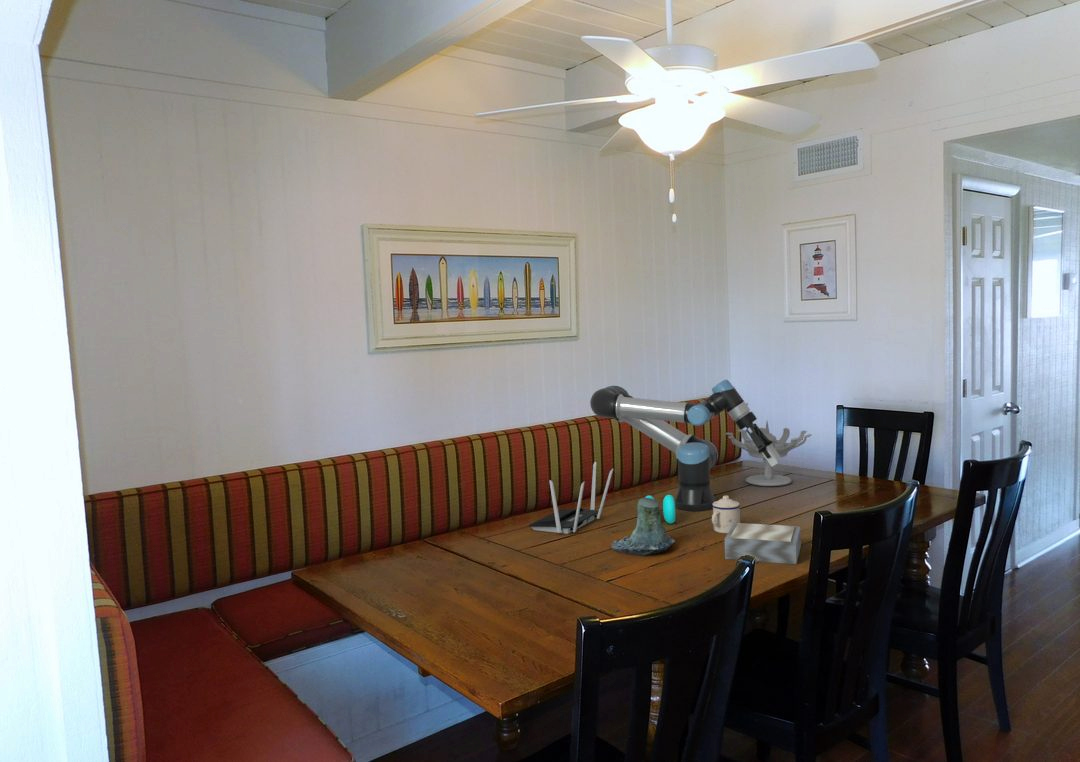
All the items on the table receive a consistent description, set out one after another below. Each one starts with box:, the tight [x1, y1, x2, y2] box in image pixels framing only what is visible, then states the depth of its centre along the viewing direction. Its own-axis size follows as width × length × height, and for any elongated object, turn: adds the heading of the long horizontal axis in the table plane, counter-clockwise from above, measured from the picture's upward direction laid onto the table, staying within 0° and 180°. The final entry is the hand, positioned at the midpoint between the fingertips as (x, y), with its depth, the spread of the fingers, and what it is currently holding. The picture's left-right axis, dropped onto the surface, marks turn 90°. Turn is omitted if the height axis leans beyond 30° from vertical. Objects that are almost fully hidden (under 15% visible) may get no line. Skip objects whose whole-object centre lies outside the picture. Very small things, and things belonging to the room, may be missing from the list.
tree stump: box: [611, 497, 675, 557], centre depth 237 cm, size 19×21×19 cm
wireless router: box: [528, 461, 614, 535], centre depth 268 cm, size 34×23×20 cm
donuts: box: [644, 494, 676, 524], centre depth 266 cm, size 10×10×10 cm
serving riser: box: [724, 522, 802, 565], centre depth 228 cm, size 20×18×6 cm
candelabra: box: [725, 421, 812, 487], centre depth 320 cm, size 34×35×27 cm
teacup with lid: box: [711, 495, 741, 535], centre depth 252 cm, size 12×9×12 cm
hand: (776, 462), depth 286 cm, fingers open, 13 cm apart
